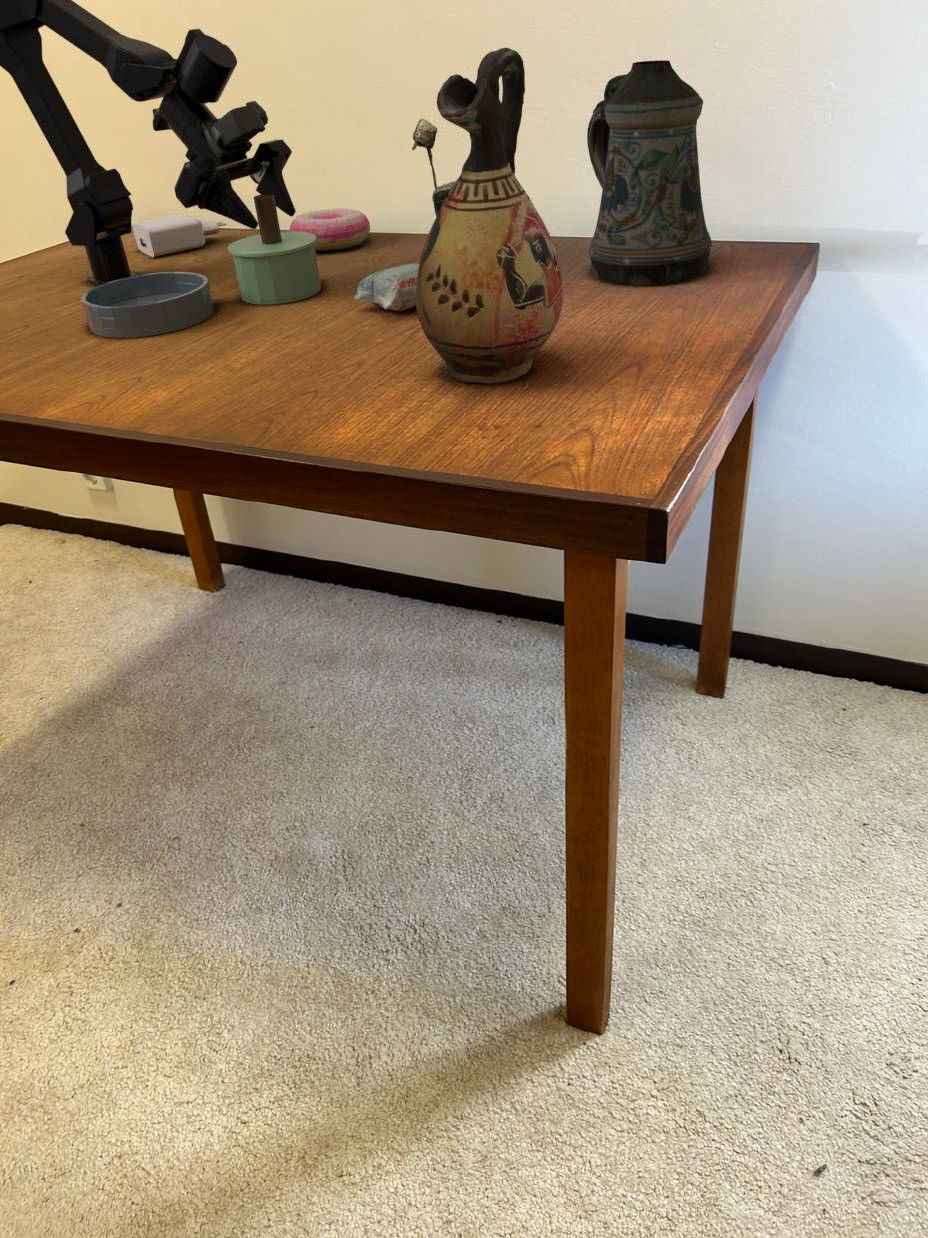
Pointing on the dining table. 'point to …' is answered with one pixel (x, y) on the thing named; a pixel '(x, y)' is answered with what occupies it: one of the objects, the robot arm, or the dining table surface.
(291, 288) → the green cylinder
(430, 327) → the ceramic jug
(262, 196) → the lid
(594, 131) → the beer stein
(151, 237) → the charger
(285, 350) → the dining table surface
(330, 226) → the donut
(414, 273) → the packaged food
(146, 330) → the pan
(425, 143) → the plant with pod
